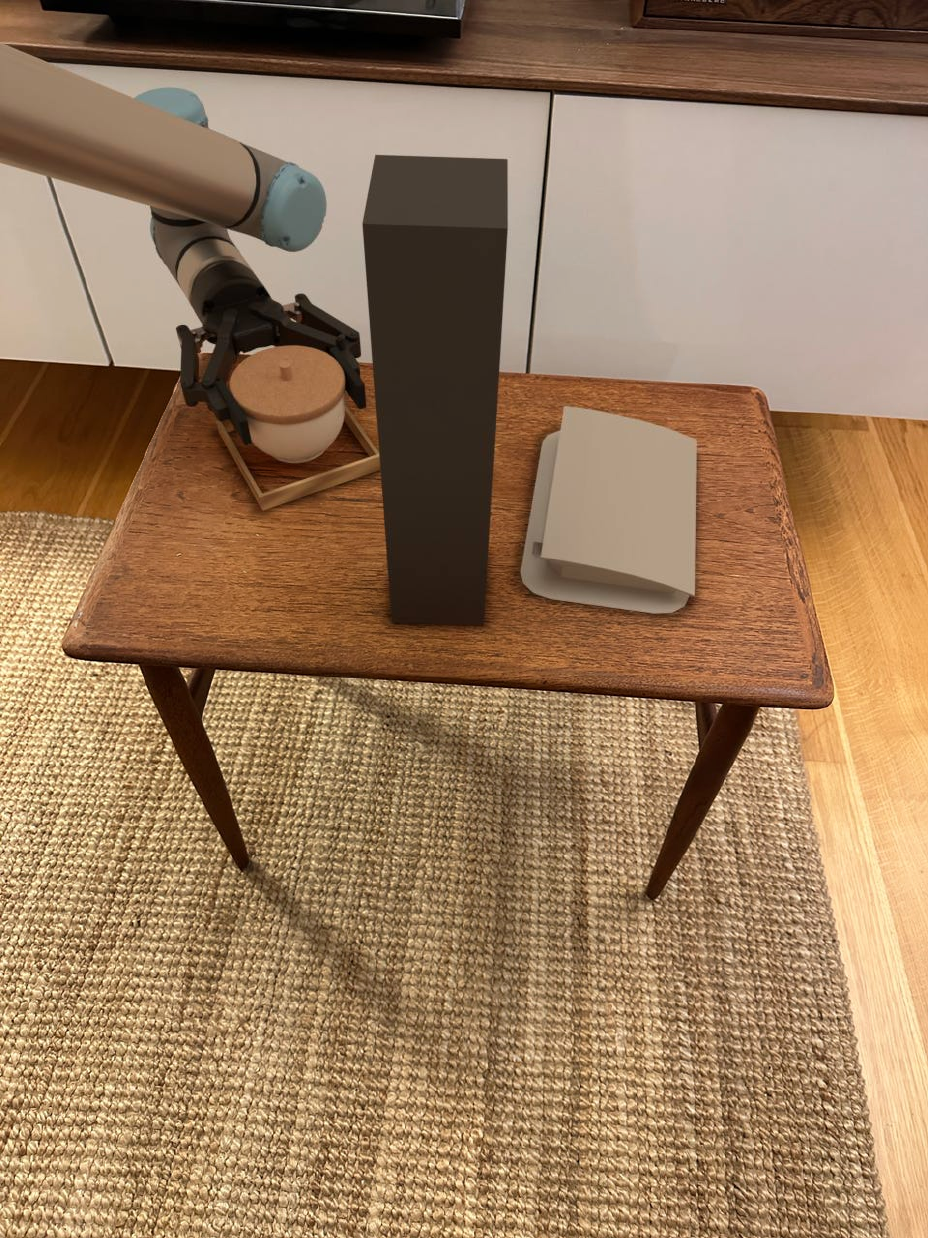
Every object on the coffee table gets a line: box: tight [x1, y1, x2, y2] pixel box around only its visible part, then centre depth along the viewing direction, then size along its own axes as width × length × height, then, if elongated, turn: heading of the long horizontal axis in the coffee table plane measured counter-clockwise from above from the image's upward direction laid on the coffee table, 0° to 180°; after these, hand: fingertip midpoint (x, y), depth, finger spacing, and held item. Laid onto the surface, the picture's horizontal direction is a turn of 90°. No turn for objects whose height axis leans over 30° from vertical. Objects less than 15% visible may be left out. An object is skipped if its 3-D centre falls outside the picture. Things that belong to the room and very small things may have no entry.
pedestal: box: [361, 154, 509, 627], centre depth 66 cm, size 8×8×36 cm
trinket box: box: [228, 345, 347, 464], centre depth 86 cm, size 11×11×9 cm
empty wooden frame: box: [215, 404, 380, 511], centre depth 90 cm, size 13×13×2 cm
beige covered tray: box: [519, 405, 698, 615], centre depth 85 cm, size 15×23×4 cm, turn 171°
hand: (305, 414), depth 83 cm, fingers closed on trinket box, 11 cm apart
